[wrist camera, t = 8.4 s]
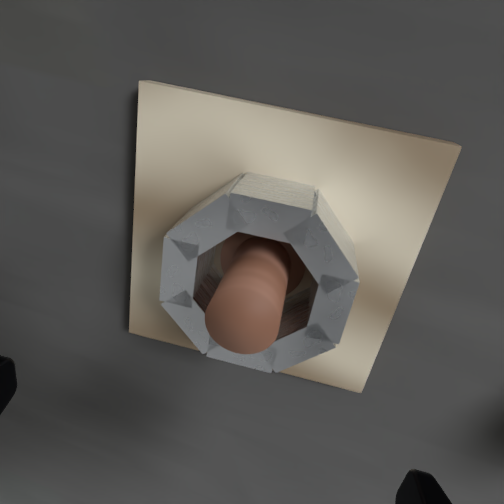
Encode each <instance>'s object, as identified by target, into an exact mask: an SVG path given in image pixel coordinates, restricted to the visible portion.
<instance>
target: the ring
mask: <svg viewBox="0 0 504 504" xmlns="http://www.w3.org/2000/svg"><path fill="white" fill-rule="evenodd" d="M314 190H315V186H313V185H308V184H304V183H299V182H294V181H289V180H285V179H280V178H275V177H271V176H266V175H261V174H256V173H252V172H247V173H246V174H244V173H242V174H240V175H239V176H237V177H236V178H234V179H233V180H231V181H230V182H229V183H227V184H226V185H224V186H223V187H221V188H220V189H218V190H217V191H215V192H214V193H212V194H211V195H210V196H208V197H207V198H205V199H204V200H202V201H201V202H199V203H198V204H196V205H195V206H193V207H192V208H191V209H190V210H189V211H188V212H187V213H186V214H185V215H184V216H183V217H182V218H181V219H180V220H179V221H178V222H177V223H176V224H175V225H174V226H173V227H172V228H171V229H170V230H169V231H168V232H167V233H166V234H167V235H166V236H165V237H164V241H163V255H162V269H161V283H160V297H159V300H160V301H163V302H162V303H161V305H162V306H163V308H164V309H165V310H166V311H167V312H168V314H169V315H170V316H171V317H172V318H173V320H174V321H175V322H176V323H177V324H178V325H179V327H180V328H181V329H182V330H183V331H184V333H185V334H186V335H187V336H188V337H189V339H190V340H191V341H192V342H193V343H194V345H195V346H196V347H197V348H198V349H199V350H200V352H201V353H202V354H204V353H206V352H207V357H210V358H214V359H218V360H222V361H226V362H229V363H233V364H237V365H241V366H245V367H249V368H253V369H257V370H261V371H264V372H268V373H272V369H273V370H274V371H275V372H276V373H277V372H280V371H282V370H284V369H287V368H289V367H291V366H294V365H296V364H298V363H301V362H303V361H305V360H308V359H310V358H313V357H315V356H317V355H320V354H322V353H324V352H327V351H329V350H331V349H334V348H336V344H339V343H340V340H341V337H342V334H343V331H344V328H345V325H346V322H347V319H348V316H349V313H350V310H351V307H352V304H353V301H354V298H355V295H356V292H357V289H358V286H359V283H360V281H359V274H358V268H357V261H356V254H355V248H354V243H353V241H352V240H351V238H350V236H349V235H348V233H347V232H346V230H345V229H344V227H343V226H342V224H341V222H340V221H339V219H338V218H337V216H336V215H335V213H334V212H333V210H332V208H331V207H330V205H329V204H328V202H327V201H326V199H325V197H324V196H323V194H322V193H321V191H320V190H319V189H317V190H316V191H314ZM236 232H242V233H246V234H251V235H255V236H260V237H264V238H268V239H273V240H277V241H282V242H286V243H290V244H291V245H292V247H293V248H294V250H295V251H296V252H297V254H298V255H299V257H300V258H301V260H302V261H303V263H304V264H305V265H306V267H307V268H308V270H309V271H310V273H311V274H312V276H313V279H312V282H311V286H310V287H308V288H306V289H304V290H302V291H301V292H299V293H297V294H295V295H293V296H291V297H289V298H287V299H285V300H284V305H283V310H282V316H281V321H280V326H279V331H278V335H277V338H276V339H275V341H274V342H273V344H272V345H271V346H270V347H268V348H267V349H265V350H264V351H261V352H259V353H255V354H238V353H234V352H231V351H229V350H226V349H225V348H223V347H221V346H220V345H219V344H217V343H216V342H215V341H214V340H213V339H212V337H211V336H210V335H209V333H208V331H207V328H206V325H205V312H206V309H207V307H208V305H209V303H210V301H211V299H212V297H213V295H214V293H215V291H216V289H217V287H218V285H219V283H220V281H221V279H222V277H223V276H222V274H221V273H220V272H219V270H218V269H217V268H216V266H215V265H214V257H215V250H216V245H217V244H218V243H220V242H222V241H223V240H225V239H227V238H228V237H230V236H231V235H233V234H235V233H236Z"/></svg>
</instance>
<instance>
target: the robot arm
mask: <svg viewBox="0 0 504 504" xmlns="http://www.w3.org/2000/svg"><path fill="white" fill-rule="evenodd" d="M16 388H17V379H16V371H15V364H14V361H13V360H12V359H11V358H8V357H4V356H1V355H0V415H1V413H2V412H3V410H4V409H5V407H6V406H7V404H8V403H9V401H10V400H11V398H12V397H13V395H14V394H15V391H16ZM395 504H452V503H451V501H450V500H449V498H448V497H447V496H446V494H445V493H444V491H443V490H442V488H441V487H440V485H439V484H438V482H437V481H436V479H435V478H434V477H433V476H432V475H431V474H429V473H427V472H423V471H419V470H416V469H411V470H409V472H408V473H407V475H406V477H405V479H404V480H403V482H402V484H401V486H400V488H399V489H398V491H397V494H396V501H395Z"/></svg>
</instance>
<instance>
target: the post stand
mask: <svg viewBox="0 0 504 504" xmlns="http://www.w3.org/2000/svg"><path fill="white" fill-rule="evenodd" d="M461 148H462V147H461V146H460V145H458V144H456V143H454V142H450V141H445V140H440V139H435V138H430V137H425V136H420V135H416V134H411V133H406V132H401V131H396V130H391V129H386V128H381V127H376V126H371V125H366V124H362V123H357V122H352V121H347V120H342V119H337V118H332V117H327V116H322V115H317V114H312V113H308V112H303V111H298V110H293V109H288V108H283V107H278V106H273V105H268V104H263V103H259V102H254V101H249V100H244V99H239V98H234V97H229V96H224V95H219V94H214V93H209V92H205V91H200V90H195V89H190V88H185V87H180V86H175V85H170V84H165V83H160V82H155V81H151V80H147V81H139V94H138V119H137V144H136V169H135V194H134V218H133V243H132V268H131V293H130V318H129V333H133V334H137V335H141V336H145V337H148V338H152V339H156V340H160V341H164V342H167V343H171V344H175V345H179V346H183V347H187V348H190V349H194V350H198V351H200V350H199V349H198V348H197V347H196V346H195V345H194V343H193V342H192V341H191V340H190V339H189V337H188V336H187V335H186V334H185V333H184V331H183V330H182V329H181V328H180V327H179V325H178V324H177V323H176V322H175V321H174V320H173V318H172V317H171V316H170V315H169V314H168V312H167V311H166V310H165V309H164V308H163V306H162V305H161V303H162V302H163V301H160V300H159V297H160V283H161V269H162V255H163V241H164V237H165V236H166V235H167V234H166V233H167V232H168V231H169V230H170V229H171V228H172V227H173V226H174V225H175V224H176V223H177V222H178V221H179V220H180V219H181V218H182V217H183V216H184V215H185V214H186V213H187V212H188V211H189V210H190V209H191V208H192V207H193V206H195V205H196V204H198V203H199V202H201V201H202V200H204V199H205V198H207V197H208V196H210V195H211V194H212V193H214V192H215V191H217V190H218V189H220V188H221V187H223V186H224V185H226V184H227V183H229V182H230V181H231V180H233V179H234V178H236V177H237V176H239V175H240V174H242V173H244V174H246V173H247V172H252V173H256V174H261V175H266V176H271V177H275V178H280V179H285V180H289V181H294V182H299V183H304V184H308V185H313V186H315V190H314V191H316V190H317V189H319V190H320V191H321V193H322V194H323V196H324V197H325V199H326V201H327V202H328V204H329V205H330V207H331V208H332V210H333V212H334V213H335V215H336V216H337V218H338V219H339V221H340V222H341V224H342V226H343V227H344V229H345V230H346V232H347V233H348V235H349V236H350V238H351V240H352V241H353V243H354V248H355V254H356V261H357V268H358V274H359V281H360V283H359V286H358V289H357V292H356V295H355V298H354V301H353V304H352V307H351V310H350V313H349V316H348V319H347V322H346V325H345V328H344V331H343V334H342V337H341V340H340V343H339V344H336V348H334V349H331V350H329V351H327V352H324V353H322V354H320V355H317V356H315V357H313V358H310V359H308V360H305V361H303V362H301V363H298V364H296V365H294V366H291V367H289V368H287V369H284V370H282V371H280V372H282V373H286V374H290V375H293V376H297V377H301V378H305V379H309V380H312V381H316V382H320V383H324V384H328V385H332V386H335V387H339V388H343V389H347V390H351V391H354V392H358V393H361V392H362V390H363V388H364V385H365V383H366V380H367V378H368V375H369V373H370V370H371V368H372V366H373V363H374V361H375V358H376V356H377V353H378V351H379V348H380V346H381V344H382V341H383V339H384V336H385V334H386V331H387V329H388V326H389V324H390V322H391V319H392V317H393V314H394V312H395V309H396V307H397V304H398V302H399V300H400V297H401V295H402V292H403V290H404V287H405V285H406V282H407V280H408V278H409V275H410V273H411V270H412V268H413V265H414V263H415V260H416V258H417V256H418V253H419V251H420V248H421V246H422V243H423V241H424V238H425V236H426V234H427V231H428V229H429V226H430V224H431V221H432V219H433V216H434V214H435V212H436V209H437V207H438V204H439V202H440V199H441V197H442V194H443V192H444V190H445V187H446V185H447V182H448V180H449V177H450V175H451V172H452V170H453V168H454V165H455V163H456V160H457V158H458V155H459V153H460V150H461ZM214 265H215V266H216V268H217V269H218V270H219V272H220V273H221V274H222V276H223V277H222V279H221V281H220V283H219V285H218V287H217V289H216V291H215V293H214V295H213V297H212V299H211V301H210V303H209V305H208V307H207V309H206V312H205V325H206V328H207V331H208V333H209V335H210V336H211V337H212V339H213V340H214V341H215V342H216V343H217V344H219V345H220V346H221V347H223V348H225V349H226V350H229V351H231V352H234V353H238V354H255V353H259V352H261V351H264V350H265V349H267V348H268V347H270V346H271V345H272V344H273V342H274V341H275V339H276V338H277V335H278V331H279V326H280V321H281V316H282V310H283V305H284V300H285V299H287V298H289V297H291V296H293V295H295V294H297V293H299V292H301V291H302V290H304V289H306V288H308V287H310V286H311V282H312V279H313V276H312V274H311V273H310V271H309V270H308V268H307V267H306V265H305V264H304V263H303V261H302V260H301V258H300V257H299V255H298V254H297V252H296V251H295V250H294V248H293V247H292V245H291V244H290V243H286V242H282V241H277V240H273V239H268V238H264V237H260V236H255V235H251V234H246V233H242V232H236V233H235V234H233V235H231V236H230V237H228V238H227V239H225V240H223V241H222V242H220V243H218V244H217V245H216V250H215V257H214ZM206 353H207V352H206ZM272 370H273V369H272Z"/></svg>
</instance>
